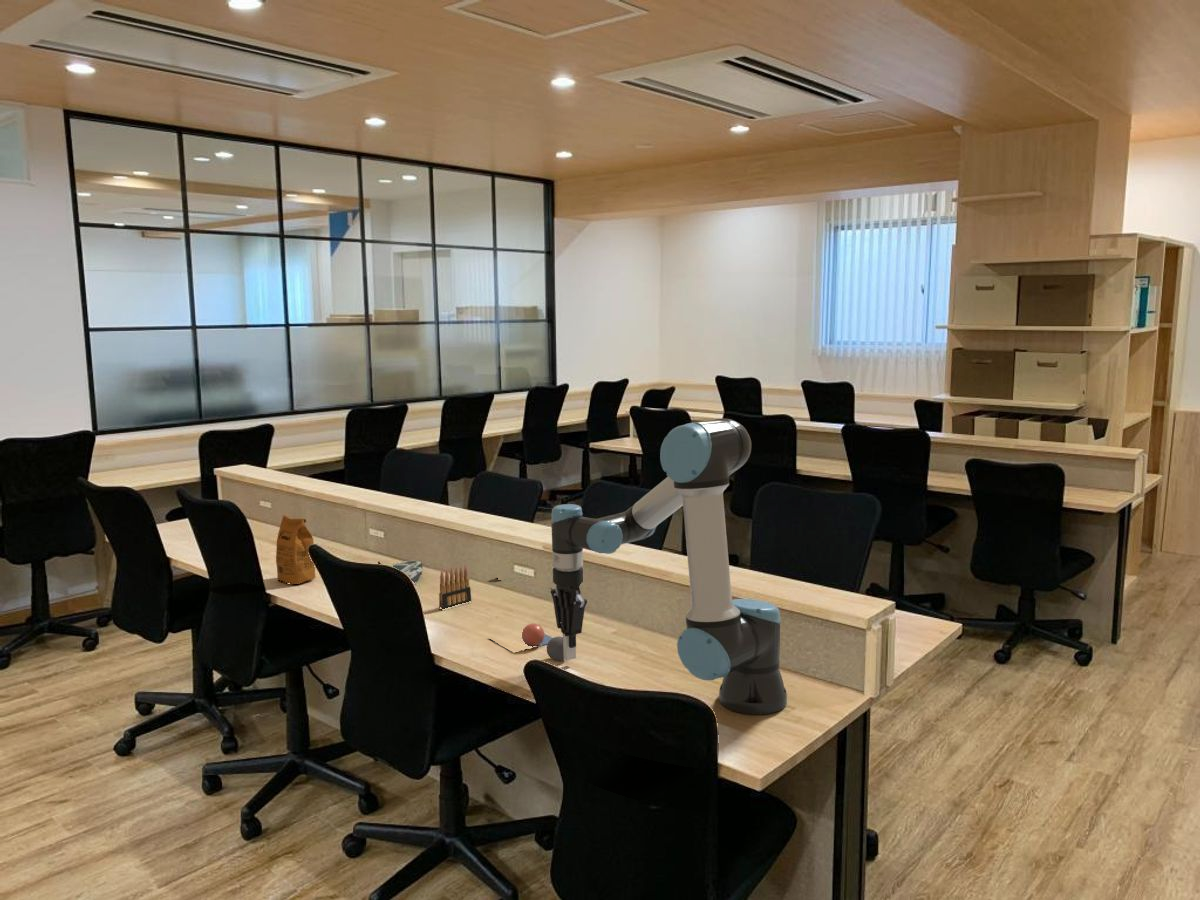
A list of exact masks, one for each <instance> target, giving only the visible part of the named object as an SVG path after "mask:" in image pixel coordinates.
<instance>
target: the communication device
mask: <svg viewBox="0 0 1200 900" xmlns="http://www.w3.org/2000/svg"><path fill="white" fill-rule="evenodd" d="M377 564H378V565H379V564H381V565H382V563H381V562H380V561H377ZM391 566H393V567H395V568H397V569H399V570H401V571H403V572H405V573H406V574H407V575H408V576H409V577H410V578H411V580H412V581H413V582H414V583H415V582H417V581H418V580H419V579H420V577H421V576H422V574H423V562H421V561H419V560H407V561H406V560H405V561H402V562H400V563H393V564H392V565H391ZM419 581H420V580H419ZM419 581H418V582H419ZM418 582H417V583H418Z"/></svg>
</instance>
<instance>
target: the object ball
mask: <svg viewBox="0 0 1200 900" xmlns="http://www.w3.org/2000/svg"><path fill="white" fill-rule="evenodd" d="M522 629H523V632H522V639H523V641H524V642H525V644H527V645H528V646H532V647H533V646H538V645H539V644H541V643H542V641H543V640H544V634H545V631H544V628H543V627H542V626H541V625H539V624H538V623H529V624H527V625H526V626H525V627H523V628H522Z"/></svg>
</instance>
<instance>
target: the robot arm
mask: <svg viewBox="0 0 1200 900" xmlns="http://www.w3.org/2000/svg"><path fill="white" fill-rule="evenodd" d="M659 451H660V453H659V455H660V456H659V458H660V459H659V461H660V465H661V468H662V470H663V471H664V472H665V473H666V476H667V477H665V479H663V480H662V481H661V482H660V483H658V484H657V485H656V486H654V487H653V488H652V489H651V490H650V491H649V492H647V493H646V494H644V495H643V496H642V497H641V498H640V499H639V500H638V501H636V502H635V503H634V504H633V505H632V506H631V507H629V508H628V509H627V510H625V511H623V512H619V513H616V514H612V515H607V516H604V517H599V518H591V517H586V516H583V515H584V513H583V509H582V507H581V506H580V505H578V504H574V503H571V504H570V503H565V504H564V503H563V504H559V505H556V506H554V507H553V508H552V509H551V521H550V525H551V547H552V548H551V549H552V551H551V552H552V556H551V557H552V558H551V560H552V566H553V568H552V583H553V584H554V585H555V586H556V587H555V588H553V589H550V594H551V598H552V601H553V608H554V615H555V622H556V627H557V629H560V631H561V633H562V637H563V649H564V659H563V660H565V661H570V660H573V659H577V635H579V634H582V632H583V623H584V616H585V609H586V605H587V603H588V600H587V599H586V598H584V599H583V597H582V596H581V594H582V593H581V589H580V588H581V587H579V586H580V584H581V583H582V582H583V568H582V566H583V563H584V551H583V549H584V550H589V551H592V552H594V553H598V554H606V555H610V554H614V553H616V552H617V550H618V549H619V548H620V547H621V546H622V545H625V544H629V543H633V542H637V541H643V540H645V539H646V538H649V537H651V536H653V534H654V533H655V532H656V529H657V526H659V524H661V523H662V522H664V521H665V520H666V519H667V518H669V517H670V516H672V515H673V514H674V513H675V512H677V511H678V510H679V509H680V508H682V509H683V510H682V511H683V522H684V532H685V534H684V535H685V541H686V542H685V545H686V553H687V555H686V556H687V564H688V565H687V566H688V576H689V577H688V578H689V579H688V580H689V588H690V589H689V591H690V599H691V600H690V601H691V607H690V608H689V609H688V611H687V612H686V613H685V624H686V625H685V626H686V629H684V630H683V631H682V632H680V633H681V634H680V636H678V638H677V644H676V646H677V647H676V649H677V653H678V656H679V659H680V661H681V664H682V665H683V667H684V668H686V669H687V671H688V672H689V673H690V674H691V675H692V676H694V677H695V678H697V679H699V680H702V681H713V680H717V679H720V678H722V682H721V685H720V686H719V690H718V693H719V694H718V697H719V698H718V699H719V700H718V701H719V702H720V704H721V705H722V706H723V707H724V708H726V709H728V710H730V711H731V712H736V713H739V714H746V715H755V716H758V715H759V716H760V715H761V716H762V715H770V714H774V713H777V711H778V712H780V711H781V709H782V710H783V709H784V708H786V706H787V703H788V702H787V701H788V692H787V690H786V687H785V685H784V681H783V677H782V676H783V675H782V674H781V670H780V655H781V654H780V649H781V648H780V647H781V645H780V644H781V643H780V642H781V624H782V621H781V617H780V614H781V613H780V609H779V608H778V607H777V605H775V604H773V603H770V602H767V601H764V600H760V599H759V600H758V599H751V598H735V599H733V596H732V584H731V571H730V561H729V552H728V551H729V550H728V539H727V538H728V537H727V528H726V527H727V525H726V515H725V502H724V491H725V490H727V488H728V487H729V486H730V476H731V475H732V474H733V473H735V472H736V471H738V470H739V469H741V467H743V466H744V465H745V464H746V463H747V462H748V460H749V458H750V455H751V453H752V440H751V437H750V434H749V433H748V431H747V429H746V427H744V425H742V424H741V423H739V422H737V421H736V420H733V419H731V418H717V419H711V420H705V421H697V422H689V423H685V424H682V425H678V426H676V427H674V428H672V429H671V430H670V431H669V432H668V433H667V435H666V436H665V437H664V439H663V441H662V443H661V446H660V450H659Z"/></svg>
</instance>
